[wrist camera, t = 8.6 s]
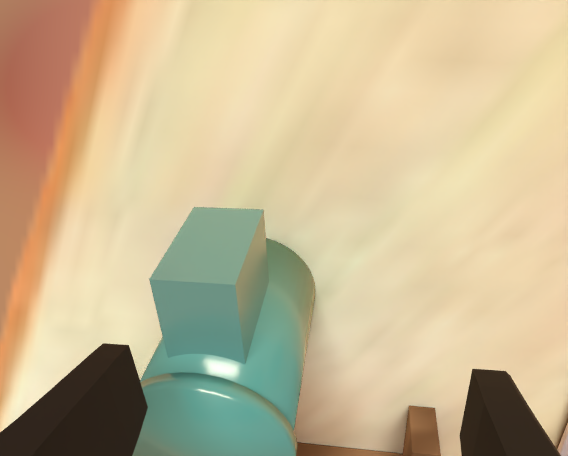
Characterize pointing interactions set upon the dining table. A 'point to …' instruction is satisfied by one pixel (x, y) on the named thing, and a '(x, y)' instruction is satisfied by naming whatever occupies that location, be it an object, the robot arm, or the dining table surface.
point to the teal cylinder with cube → (226, 340)
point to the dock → (417, 446)
